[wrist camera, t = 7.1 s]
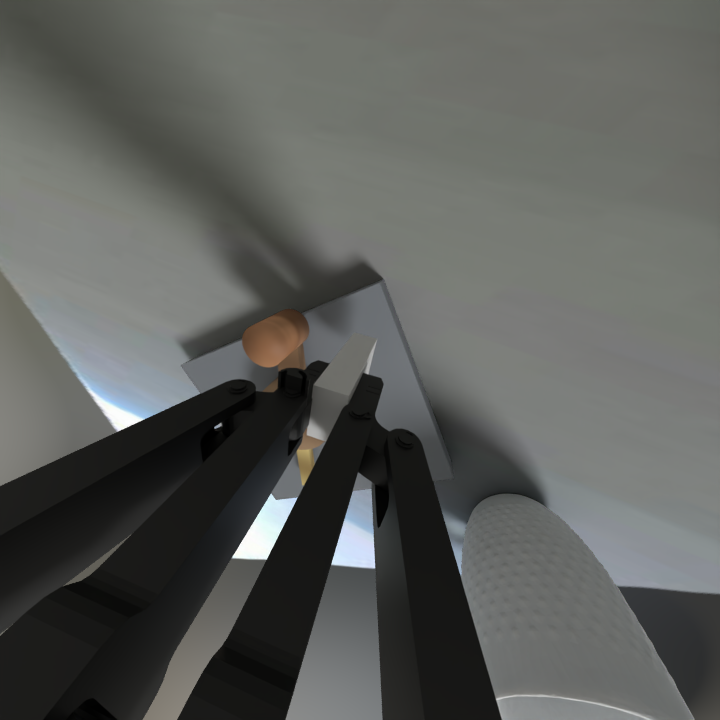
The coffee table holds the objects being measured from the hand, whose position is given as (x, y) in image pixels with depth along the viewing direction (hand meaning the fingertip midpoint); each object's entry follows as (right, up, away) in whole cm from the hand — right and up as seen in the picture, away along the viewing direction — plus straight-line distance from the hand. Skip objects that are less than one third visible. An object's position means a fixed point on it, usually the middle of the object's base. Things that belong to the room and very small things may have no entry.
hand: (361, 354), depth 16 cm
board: (-4, -5, +8) cm, 11 cm away
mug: (+15, -17, +10) cm, 25 cm away
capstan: (-5, -4, +6) cm, 9 cm away
